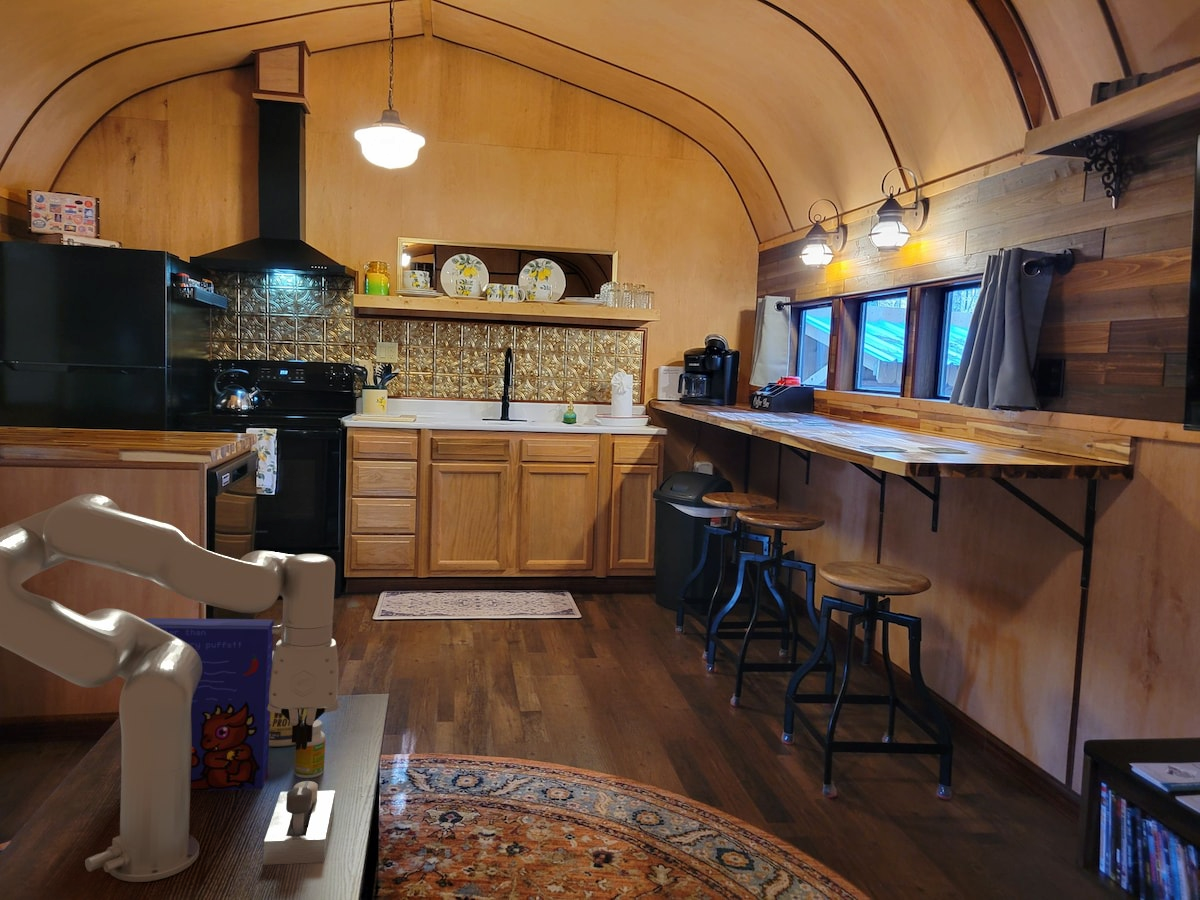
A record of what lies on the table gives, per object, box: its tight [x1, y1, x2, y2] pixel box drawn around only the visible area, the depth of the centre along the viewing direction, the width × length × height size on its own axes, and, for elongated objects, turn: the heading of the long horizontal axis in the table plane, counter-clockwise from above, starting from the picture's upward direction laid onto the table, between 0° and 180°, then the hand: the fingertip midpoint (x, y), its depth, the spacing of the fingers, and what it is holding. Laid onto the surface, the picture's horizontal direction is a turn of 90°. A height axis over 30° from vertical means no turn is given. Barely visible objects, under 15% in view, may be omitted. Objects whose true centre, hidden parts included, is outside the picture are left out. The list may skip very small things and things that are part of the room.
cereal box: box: [144, 617, 275, 792], centre depth 158 cm, size 22×6×30 cm, turn 101°
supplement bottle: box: [293, 719, 326, 779], centre depth 165 cm, size 5×5×10 cm
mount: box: [262, 790, 336, 866], centre depth 143 cm, size 16×9×4 cm, turn 11°
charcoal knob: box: [286, 787, 312, 836], centre depth 139 cm, size 4×4×6 cm
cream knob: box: [293, 780, 319, 826], centre depth 148 cm, size 4×4×6 cm
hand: (301, 746), depth 139 cm, fingers closed
